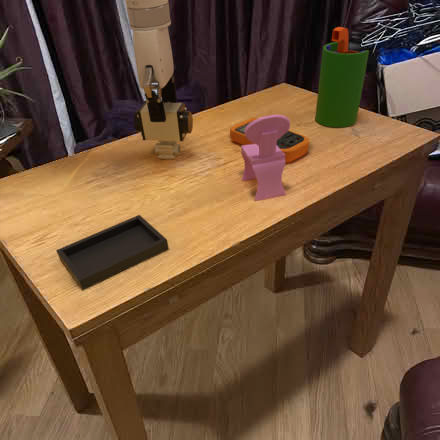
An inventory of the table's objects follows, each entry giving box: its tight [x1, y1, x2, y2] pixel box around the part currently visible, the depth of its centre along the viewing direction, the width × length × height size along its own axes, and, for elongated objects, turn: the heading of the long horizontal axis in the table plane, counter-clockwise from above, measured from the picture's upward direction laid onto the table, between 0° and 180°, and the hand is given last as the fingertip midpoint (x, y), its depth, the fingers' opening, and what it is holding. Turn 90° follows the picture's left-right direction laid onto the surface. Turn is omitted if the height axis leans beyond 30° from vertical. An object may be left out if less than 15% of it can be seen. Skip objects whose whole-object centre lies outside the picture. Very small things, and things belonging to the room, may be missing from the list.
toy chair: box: [240, 114, 291, 202], centre depth 79 cm, size 8×9×15 cm
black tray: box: [55, 214, 169, 291], centre depth 71 cm, size 16×10×2 cm, turn 126°
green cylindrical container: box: [314, 26, 370, 128], centre depth 97 cm, size 10×9×20 cm
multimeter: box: [229, 117, 310, 163], centre depth 95 cm, size 9×18×3 cm, turn 42°
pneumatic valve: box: [133, 102, 194, 161], centre depth 92 cm, size 6×12×12 cm, turn 80°
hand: (164, 111), depth 89 cm, fingers open, 9 cm apart
